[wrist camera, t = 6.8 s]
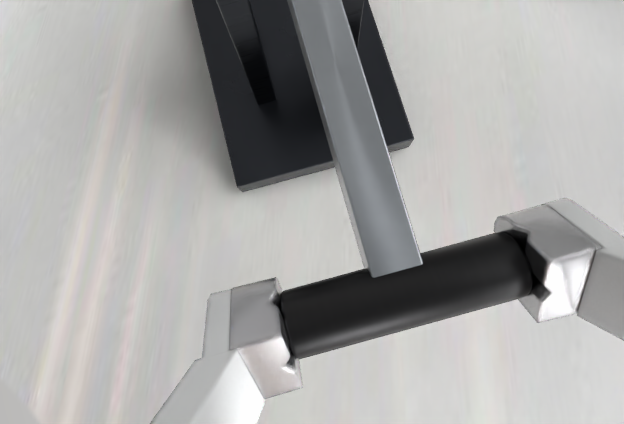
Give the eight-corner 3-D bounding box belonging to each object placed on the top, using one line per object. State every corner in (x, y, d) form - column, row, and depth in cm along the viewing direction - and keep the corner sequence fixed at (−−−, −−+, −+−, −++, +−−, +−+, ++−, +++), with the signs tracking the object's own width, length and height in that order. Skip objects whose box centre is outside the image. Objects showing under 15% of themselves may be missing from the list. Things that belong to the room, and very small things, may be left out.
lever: (497, 291, 9) (558, 302, 7) (300, 346, 9) (291, 375, 7) (340, -179, 11) (345, -298, 9) (177, -135, 11) (136, -244, 9)
